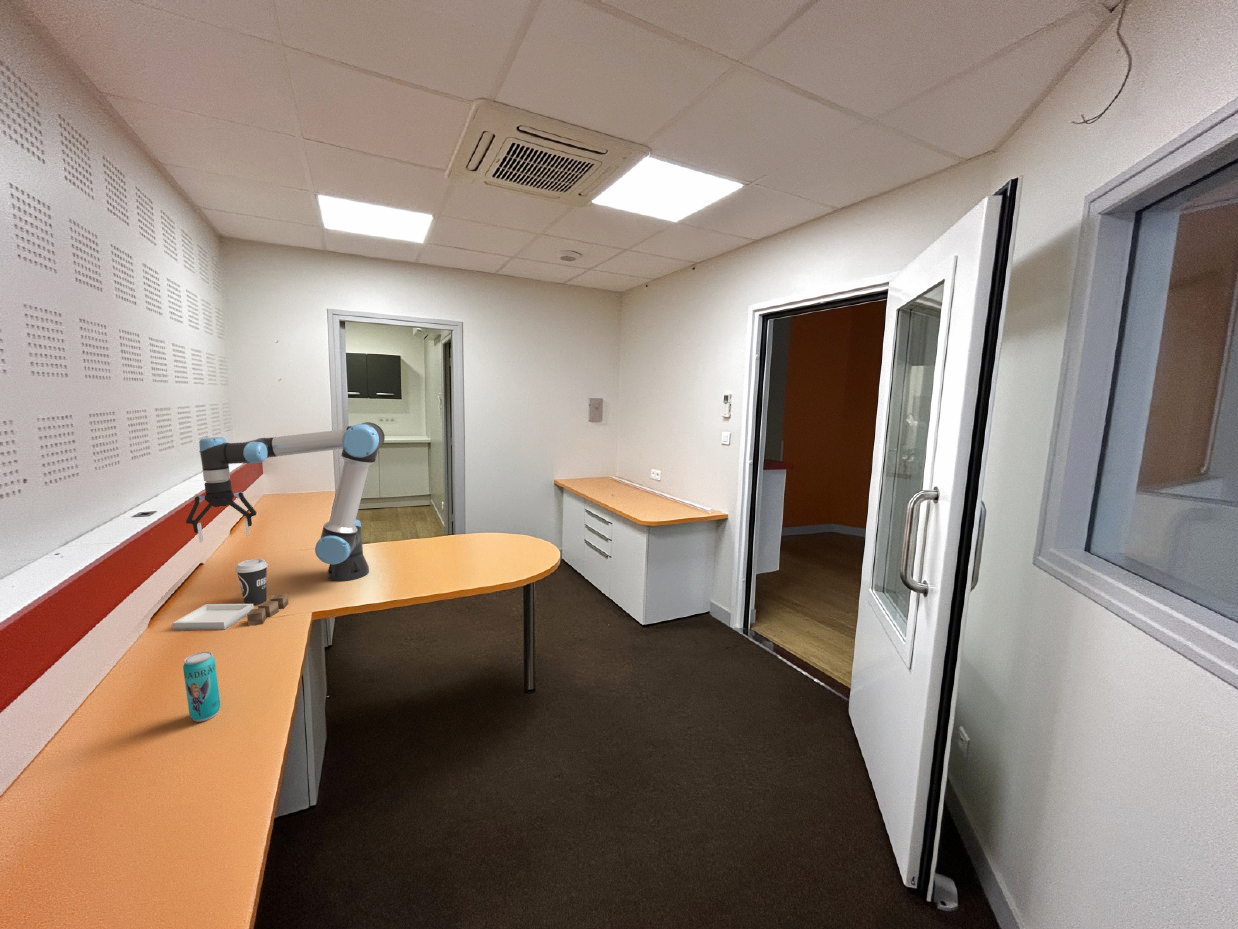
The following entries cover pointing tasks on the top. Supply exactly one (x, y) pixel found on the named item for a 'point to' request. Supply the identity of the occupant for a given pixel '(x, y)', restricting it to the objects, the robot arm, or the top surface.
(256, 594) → the coffee cup
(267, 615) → the block
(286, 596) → the block
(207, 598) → the top surface
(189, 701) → the beverage can
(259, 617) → the block
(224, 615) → the tray
